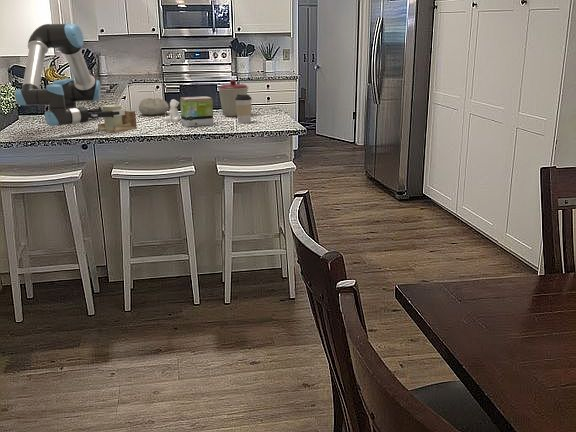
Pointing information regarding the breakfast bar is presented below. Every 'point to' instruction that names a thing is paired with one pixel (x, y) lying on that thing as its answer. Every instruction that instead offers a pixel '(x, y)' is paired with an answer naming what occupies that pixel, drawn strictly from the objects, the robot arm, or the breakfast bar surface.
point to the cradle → (127, 122)
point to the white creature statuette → (173, 112)
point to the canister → (231, 97)
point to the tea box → (196, 111)
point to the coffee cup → (243, 108)
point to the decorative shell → (153, 106)
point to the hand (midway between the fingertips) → (119, 110)
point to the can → (111, 121)
